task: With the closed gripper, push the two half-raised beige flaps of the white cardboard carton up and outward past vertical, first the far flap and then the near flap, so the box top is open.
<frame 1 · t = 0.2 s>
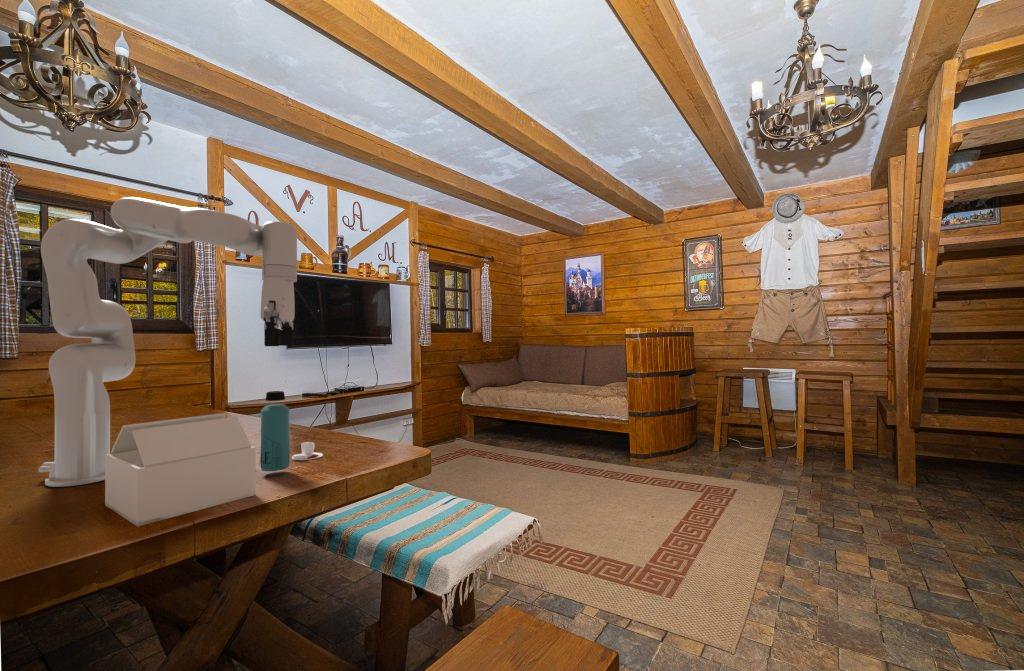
hand: (279, 345, 112), 31 cm above the table, tool pointing down, fingers open, 9 cm apart
far flap: (171, 432, 98), point 13 cm above the table, hinge at 40.0°, touching carton
carton: (182, 500, 94), on the table
near flap: (195, 439, 91), point 13 cm above the table, hinge at 40.0°, touching carton
beverage bottle: (274, 474, 112), on the table
teacup and saucer: (295, 459, 128), on the table
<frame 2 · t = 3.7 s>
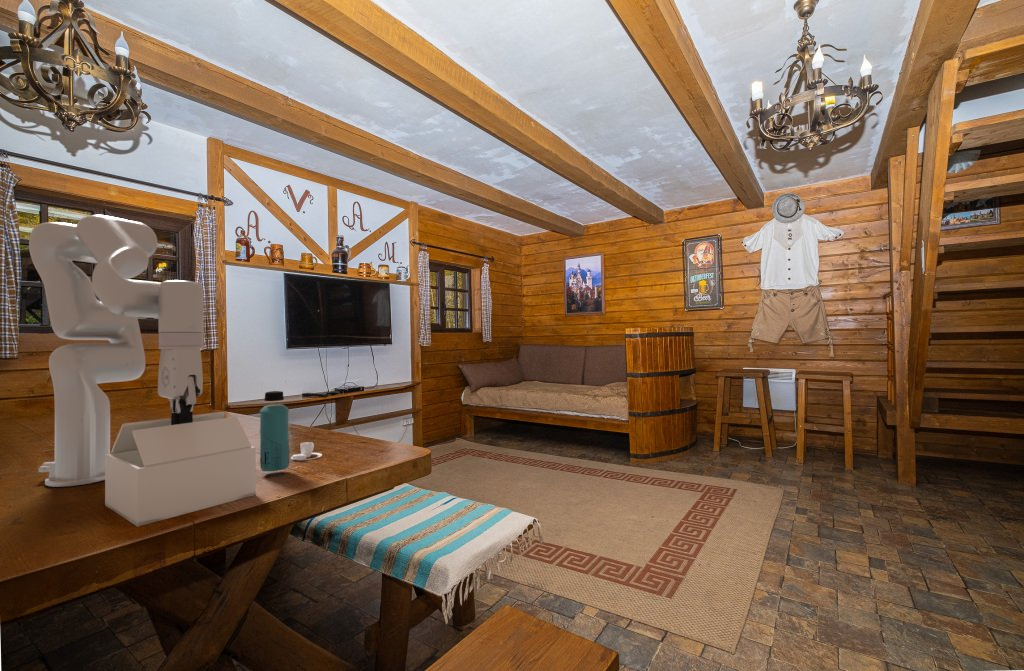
hand: (182, 431, 95), 14 cm above the table, tool pointing down, fingers closed
far flap: (171, 431, 98), point 13 cm above the table, hinge at 42.6°, touching carton, gripper
everything else where it was.
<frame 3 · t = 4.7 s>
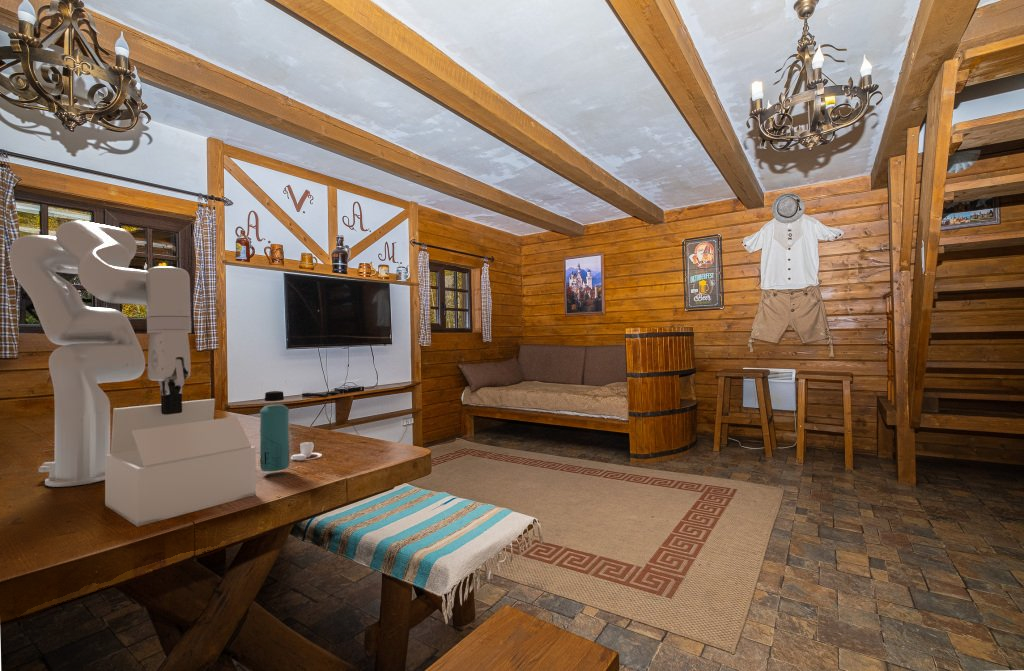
hand: (172, 413, 98), 17 cm above the table, tool pointing down, fingers closed
far flap: (166, 424, 99), point 14 cm above the table, hinge at 80.1°, touching gripper
everything else where it was.
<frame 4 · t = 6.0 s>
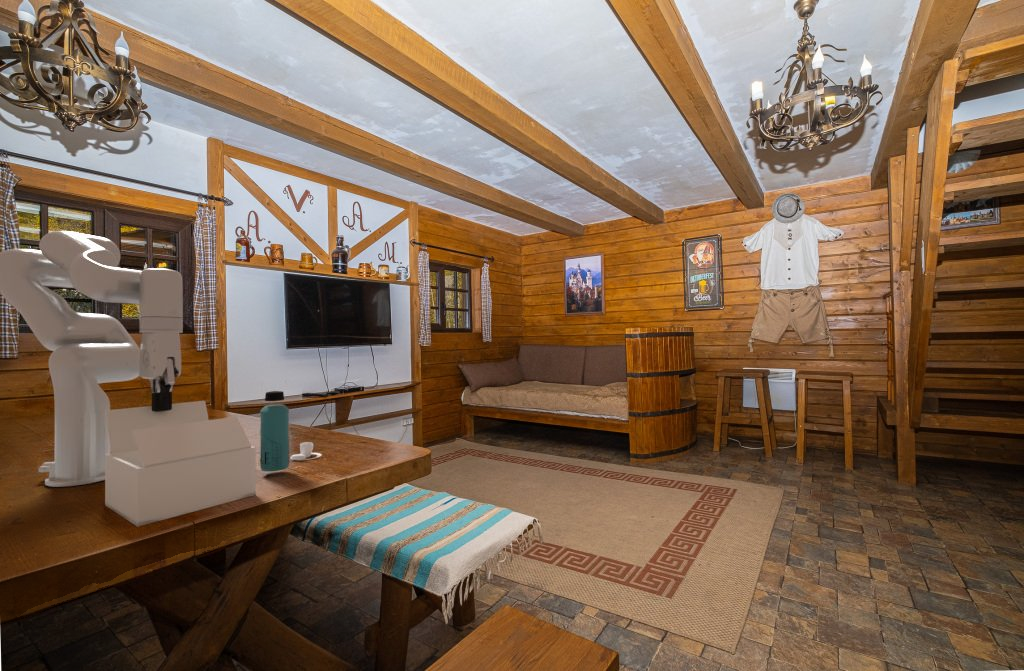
hand: (161, 410, 101), 17 cm above the table, tool pointing down, fingers closed
far flap: (161, 425, 101), point 14 cm above the table, hinge at 114.1°, touching carton, gripper
everything else where it was.
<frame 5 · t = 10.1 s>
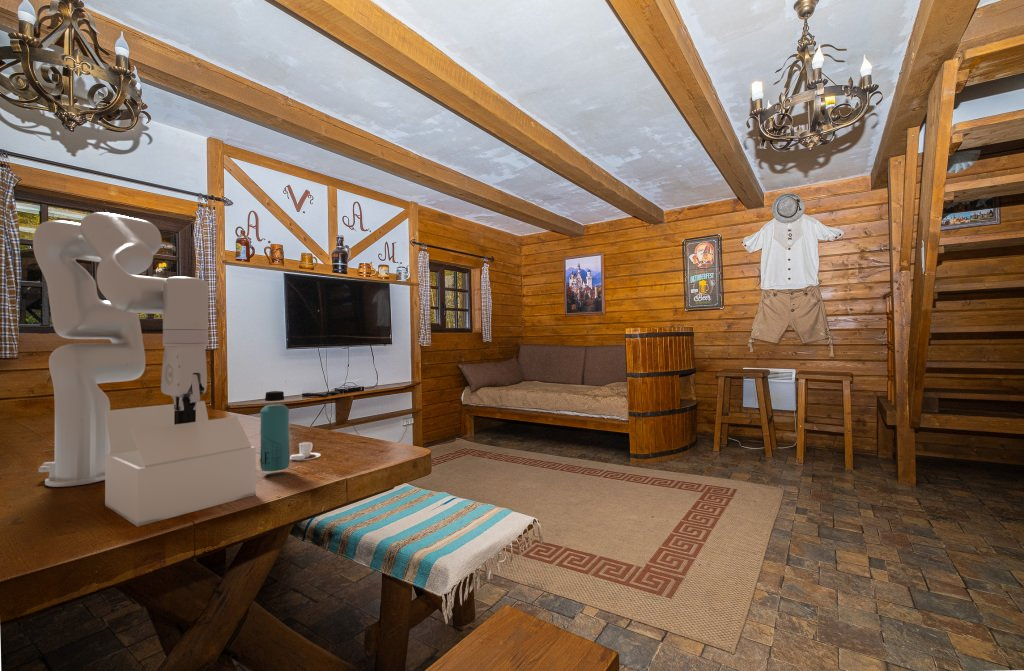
hand: (185, 429, 94), 14 cm above the table, tool pointing down, fingers closed
far flap: (161, 425, 101), point 14 cm above the table, hinge at 115.3°, touching carton
near flap: (195, 439, 91), point 13 cm above the table, hinge at 40.3°, touching gripper
everything else where it was.
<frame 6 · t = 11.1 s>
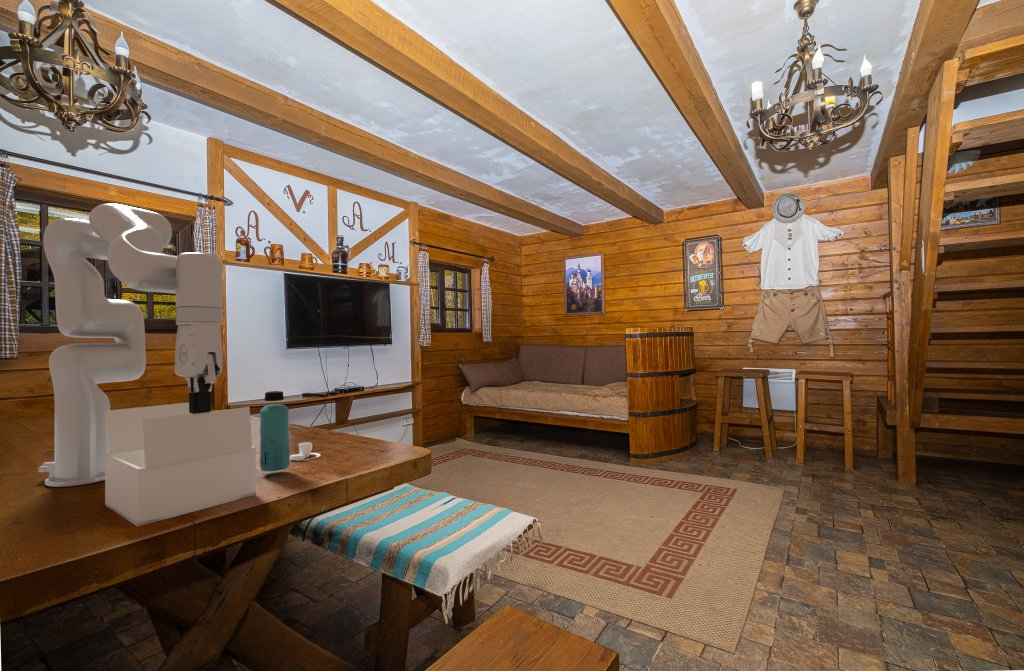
hand: (200, 412, 90), 18 cm above the table, tool pointing down, fingers closed
near flap: (201, 434, 89), point 14 cm above the table, hinge at 82.8°, touching gripper
everything else where it was.
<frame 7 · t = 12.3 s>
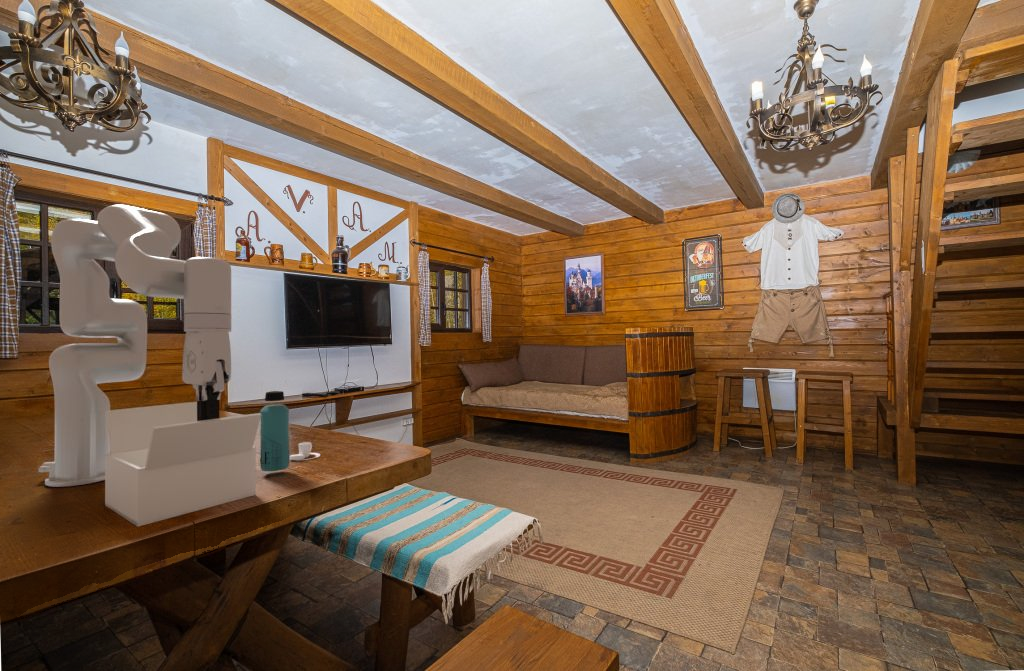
hand: (208, 421, 88), 17 cm above the table, tool pointing down, fingers closed
near flap: (207, 439, 88), point 14 cm above the table, hinge at 116.5°, touching carton, gripper
everything else where it was.
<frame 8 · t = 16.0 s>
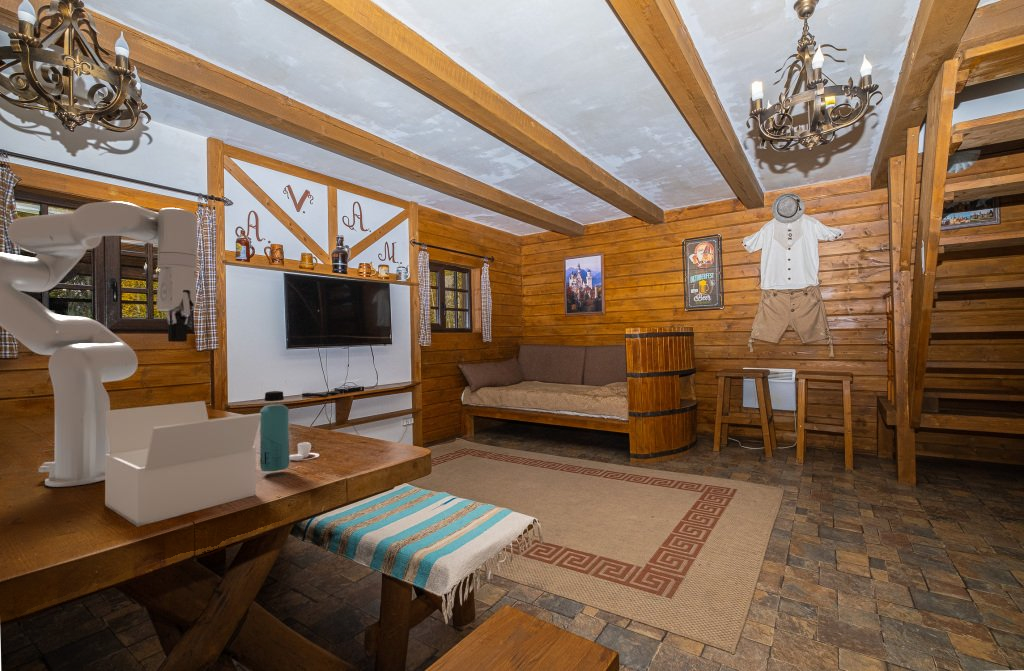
hand: (177, 341, 109), 32 cm above the table, tool pointing down, fingers closed
near flap: (207, 439, 88), point 14 cm above the table, hinge at 116.7°, touching carton
everything else where it was.
at the end: far flap at +115° (first picture: +40°); near flap at +117° (first picture: +40°) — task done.
